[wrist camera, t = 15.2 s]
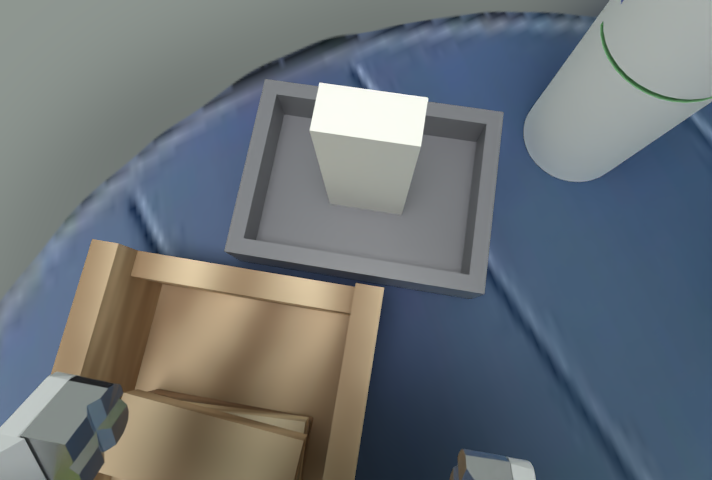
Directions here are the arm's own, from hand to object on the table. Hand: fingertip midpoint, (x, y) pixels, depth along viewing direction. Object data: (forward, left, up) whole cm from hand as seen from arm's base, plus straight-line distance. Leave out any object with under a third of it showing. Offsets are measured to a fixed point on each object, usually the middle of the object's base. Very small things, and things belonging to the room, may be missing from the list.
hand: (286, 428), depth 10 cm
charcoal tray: (0, -12, -19) cm, 22 cm away
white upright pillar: (0, -12, -18) cm, 21 cm away
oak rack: (+6, +3, -19) cm, 20 cm away
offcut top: (+6, +5, -15) cm, 17 cm away
